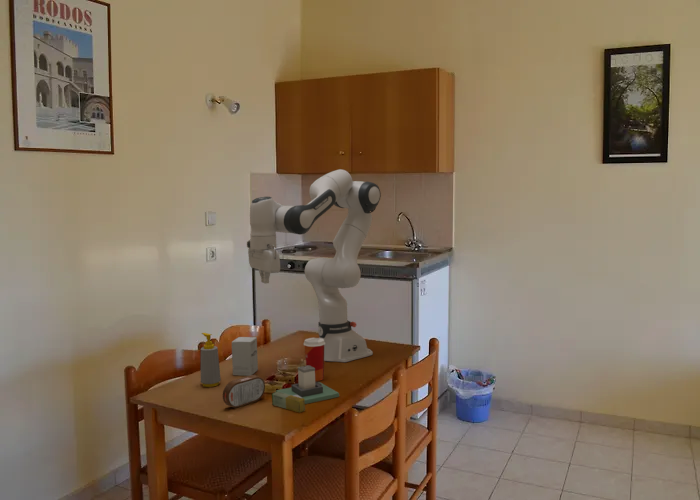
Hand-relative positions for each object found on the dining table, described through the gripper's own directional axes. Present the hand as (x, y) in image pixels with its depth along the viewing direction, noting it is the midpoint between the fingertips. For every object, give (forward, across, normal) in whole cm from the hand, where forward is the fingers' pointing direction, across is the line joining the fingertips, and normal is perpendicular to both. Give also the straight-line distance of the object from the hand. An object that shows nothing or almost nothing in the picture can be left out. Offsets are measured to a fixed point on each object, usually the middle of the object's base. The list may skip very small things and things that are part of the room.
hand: (265, 282), depth 225 cm
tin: (+34, -21, +17) cm, 44 cm away
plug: (+33, -25, -3) cm, 41 cm away
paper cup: (+34, -11, -13) cm, 38 cm away
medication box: (+35, -32, +7) cm, 47 cm away
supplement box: (+34, +10, +5) cm, 36 cm away
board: (+34, -25, -3) cm, 42 cm away
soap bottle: (+34, +4, +20) cm, 40 cm away
